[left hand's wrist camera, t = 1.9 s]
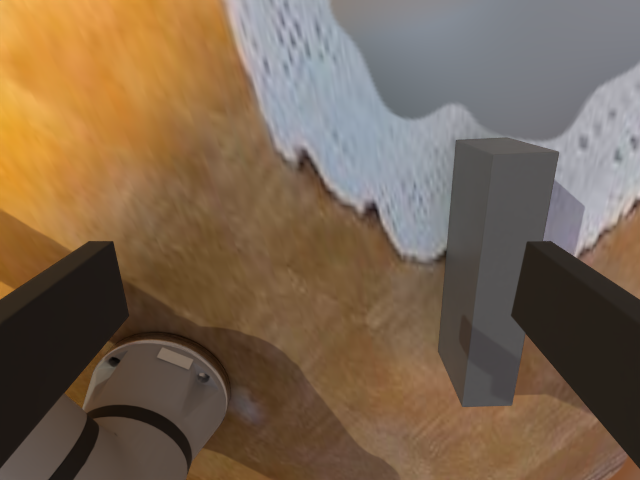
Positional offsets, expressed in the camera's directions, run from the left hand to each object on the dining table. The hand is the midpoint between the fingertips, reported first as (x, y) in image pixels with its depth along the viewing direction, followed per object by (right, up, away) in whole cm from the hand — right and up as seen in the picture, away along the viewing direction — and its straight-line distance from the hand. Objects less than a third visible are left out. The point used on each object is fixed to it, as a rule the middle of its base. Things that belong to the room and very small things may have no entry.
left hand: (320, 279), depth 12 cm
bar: (+15, 0, +26) cm, 30 cm away
